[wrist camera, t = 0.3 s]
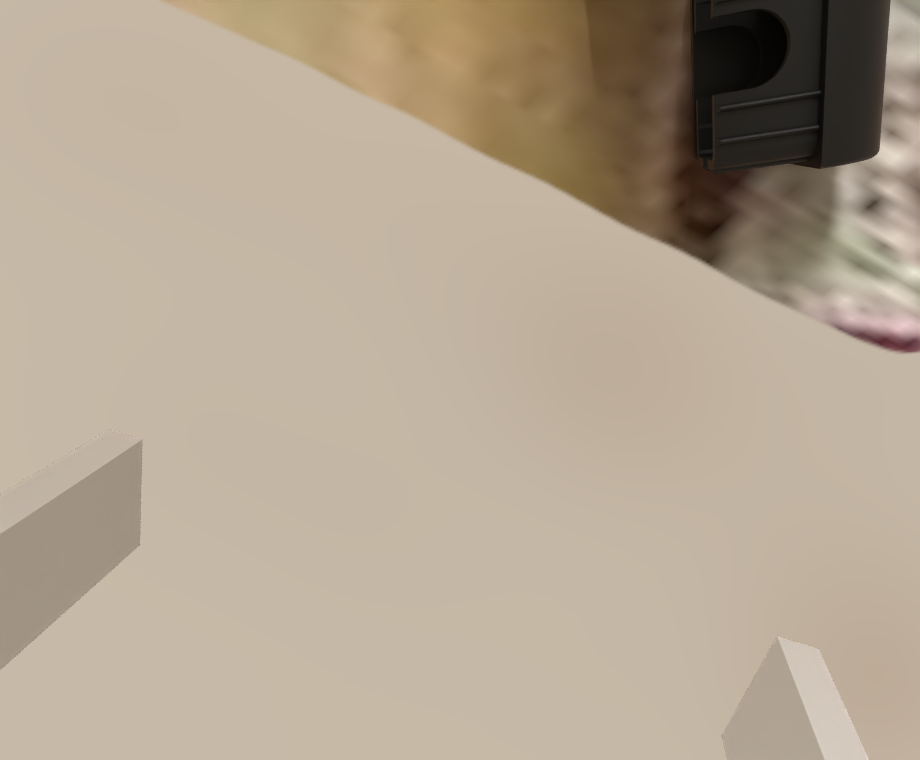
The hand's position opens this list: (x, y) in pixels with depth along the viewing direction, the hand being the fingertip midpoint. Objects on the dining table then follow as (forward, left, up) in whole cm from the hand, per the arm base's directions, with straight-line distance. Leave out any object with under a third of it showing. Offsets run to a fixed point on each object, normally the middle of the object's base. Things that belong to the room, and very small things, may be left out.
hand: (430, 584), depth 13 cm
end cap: (-13, +11, -26) cm, 31 cm away
